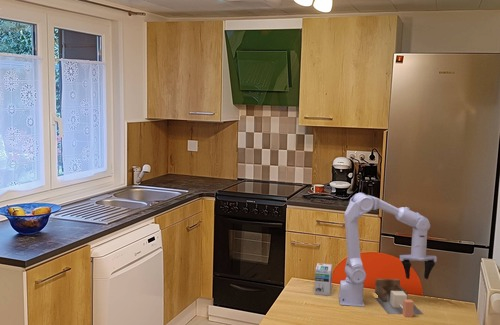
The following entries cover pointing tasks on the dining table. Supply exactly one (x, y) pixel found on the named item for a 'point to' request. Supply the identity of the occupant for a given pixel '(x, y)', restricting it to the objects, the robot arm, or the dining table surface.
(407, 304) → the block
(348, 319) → the dining table surface
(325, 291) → the light bulb box
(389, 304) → the panel
